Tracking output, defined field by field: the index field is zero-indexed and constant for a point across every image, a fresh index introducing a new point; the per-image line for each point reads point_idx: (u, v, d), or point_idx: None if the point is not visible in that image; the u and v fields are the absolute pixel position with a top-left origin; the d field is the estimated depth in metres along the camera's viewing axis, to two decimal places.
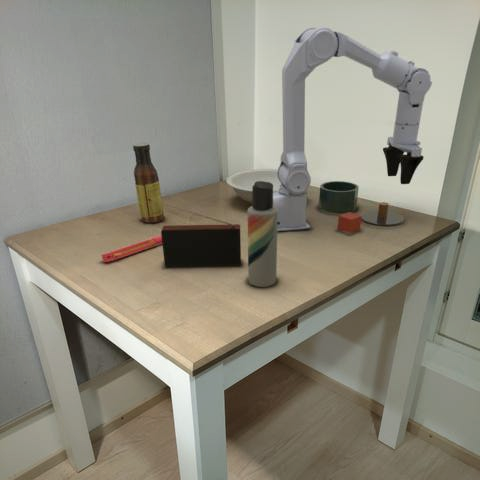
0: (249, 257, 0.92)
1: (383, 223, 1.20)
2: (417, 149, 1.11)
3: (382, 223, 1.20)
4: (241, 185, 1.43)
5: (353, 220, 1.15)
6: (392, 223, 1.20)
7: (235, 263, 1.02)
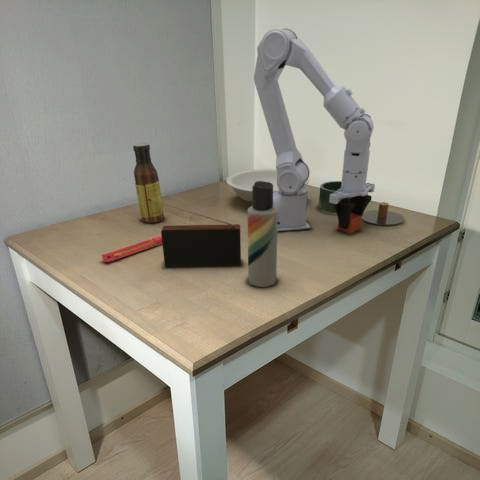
0: (249, 257, 0.92)
1: (383, 223, 1.20)
2: (332, 196, 1.10)
3: (382, 223, 1.20)
4: (241, 185, 1.43)
5: (353, 220, 1.15)
6: (392, 223, 1.20)
7: (235, 263, 1.02)
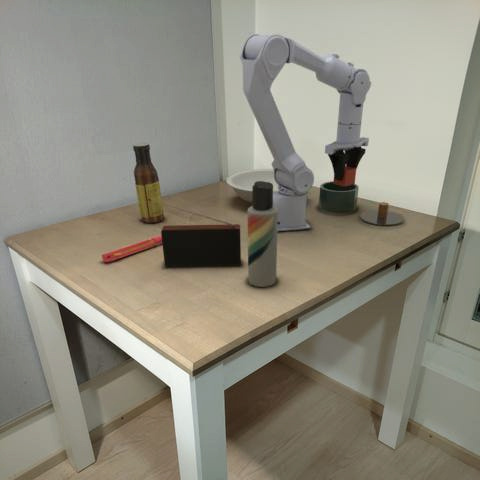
0: (249, 257, 0.92)
1: (383, 223, 1.20)
2: (327, 146, 1.15)
3: (382, 223, 1.20)
4: (241, 185, 1.43)
5: (348, 172, 1.21)
6: (392, 223, 1.20)
7: (235, 263, 1.02)
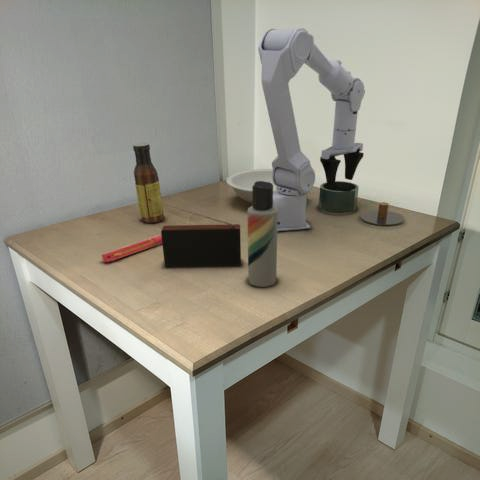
0: (249, 257, 0.92)
1: (383, 223, 1.20)
2: (324, 151, 1.21)
3: (382, 223, 1.20)
4: (241, 185, 1.43)
5: None
6: (392, 223, 1.20)
7: (235, 263, 1.02)
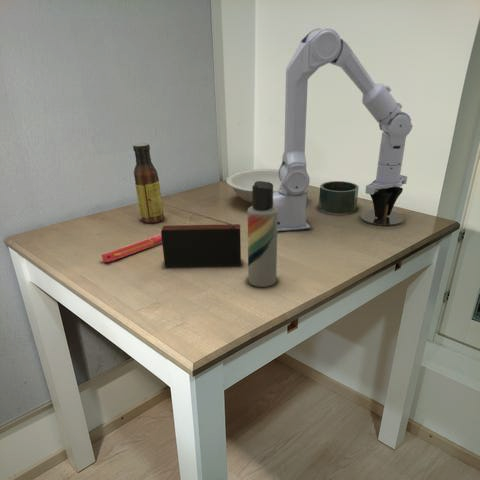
0: (249, 257, 0.92)
1: (383, 223, 1.20)
2: (368, 187, 1.15)
3: (382, 223, 1.20)
4: (241, 185, 1.43)
5: None
6: (392, 223, 1.20)
7: (235, 263, 1.02)
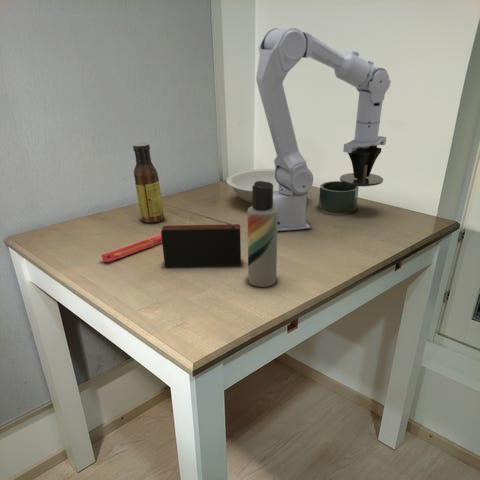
0: (249, 257, 0.92)
1: (362, 183, 1.20)
2: (346, 145, 1.16)
3: (361, 183, 1.20)
4: (241, 185, 1.43)
5: None
6: (371, 183, 1.20)
7: (235, 263, 1.02)
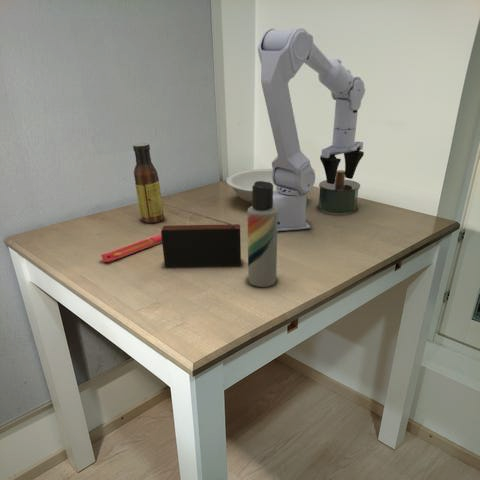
0: (249, 257, 0.92)
1: (339, 189, 1.26)
2: (324, 150, 1.21)
3: (338, 189, 1.26)
4: (241, 185, 1.43)
5: None
6: (348, 189, 1.26)
7: (235, 263, 1.02)
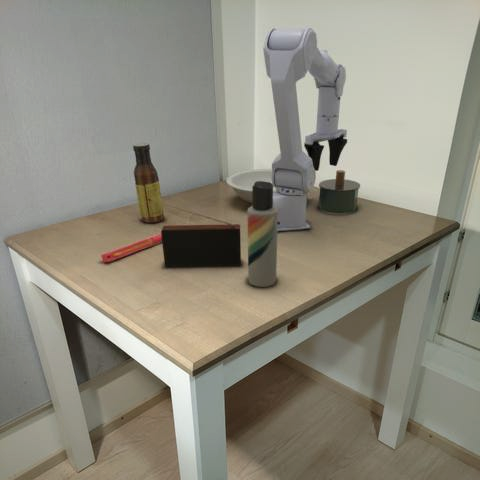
0: (249, 257, 0.92)
1: (339, 189, 1.26)
2: (307, 137, 1.24)
3: (338, 189, 1.26)
4: (241, 185, 1.43)
5: None
6: (348, 189, 1.26)
7: (235, 263, 1.02)
